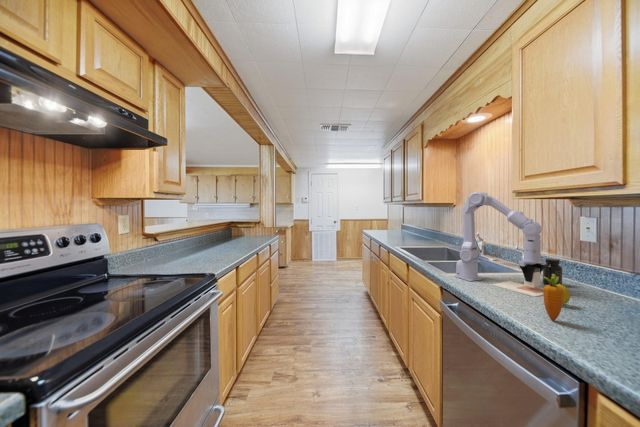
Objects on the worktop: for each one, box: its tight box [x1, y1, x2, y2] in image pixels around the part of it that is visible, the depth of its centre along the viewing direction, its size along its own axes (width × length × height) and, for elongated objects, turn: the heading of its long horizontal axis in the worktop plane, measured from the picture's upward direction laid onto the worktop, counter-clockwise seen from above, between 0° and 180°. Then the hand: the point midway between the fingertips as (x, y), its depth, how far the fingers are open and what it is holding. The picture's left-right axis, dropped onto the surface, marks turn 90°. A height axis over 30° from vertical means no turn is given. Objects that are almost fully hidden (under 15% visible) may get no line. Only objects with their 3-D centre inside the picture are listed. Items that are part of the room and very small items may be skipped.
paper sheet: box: [491, 280, 544, 298], centre depth 118 cm, size 18×13×1 cm
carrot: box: [542, 274, 564, 322], centre depth 85 cm, size 5×5×15 cm
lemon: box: [556, 284, 571, 305], centre depth 99 cm, size 6×6×8 cm
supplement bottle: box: [542, 258, 563, 286], centre depth 124 cm, size 7×7×12 cm
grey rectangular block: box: [523, 267, 541, 288], centre depth 116 cm, size 4×4×8 cm
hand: (531, 281), depth 116 cm, fingers closed on grey rectangular block, 4 cm apart
